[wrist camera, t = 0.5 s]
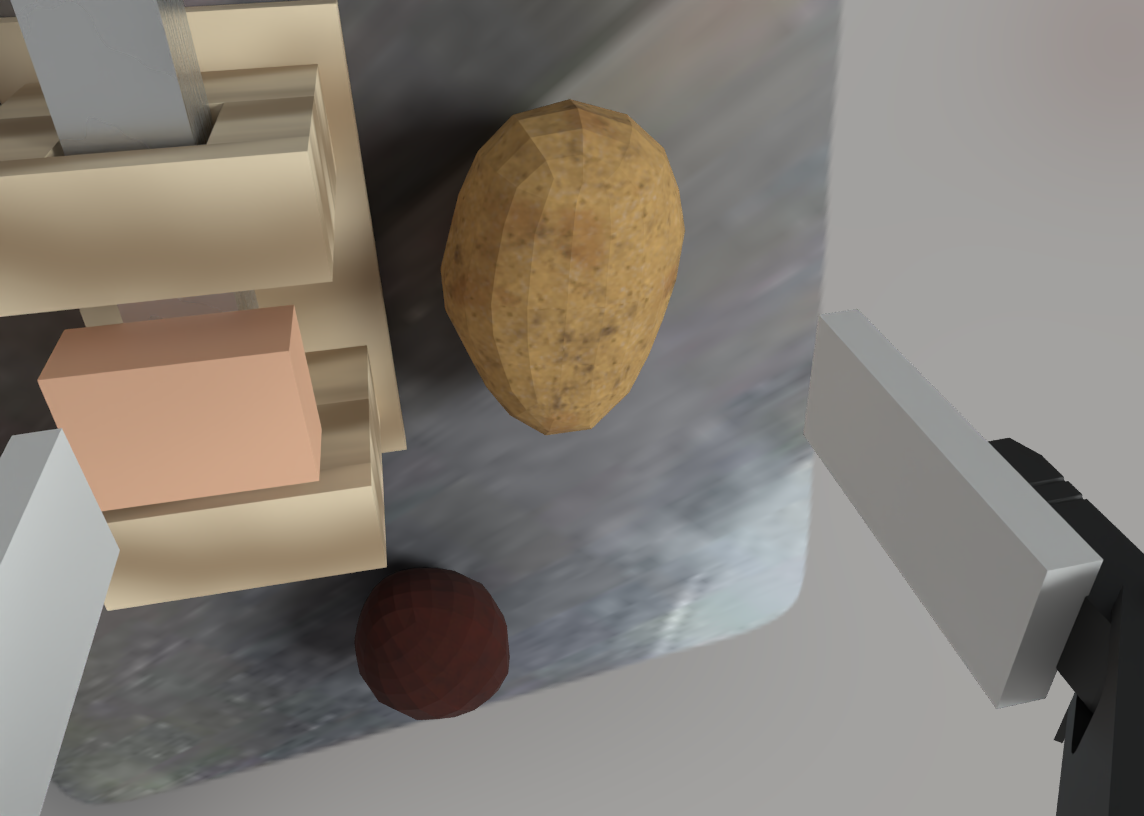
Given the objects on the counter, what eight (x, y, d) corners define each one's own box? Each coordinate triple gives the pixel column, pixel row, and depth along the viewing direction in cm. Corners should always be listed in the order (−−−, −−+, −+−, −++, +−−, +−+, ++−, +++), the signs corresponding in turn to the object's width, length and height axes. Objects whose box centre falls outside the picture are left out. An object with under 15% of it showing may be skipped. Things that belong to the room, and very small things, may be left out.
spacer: (64, 329, 28) (36, 380, 25) (294, 304, 29) (288, 350, 26) (114, 455, 31) (93, 512, 28) (321, 428, 32) (319, 480, 29)
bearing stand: (-19, 18, 31) (-170, 108, 22) (336, -2, 32) (331, 73, 24) (149, 471, 42) (95, 652, 33) (405, 437, 44) (419, 599, 35)
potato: (436, 374, 42) (452, 478, 36) (429, 66, 34) (447, 128, 28) (633, 364, 44) (682, 460, 38) (669, 70, 36) (737, 129, 30)
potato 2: (437, 507, 47) (450, 616, 41) (531, 599, 52) (555, 708, 46) (315, 582, 48) (310, 699, 42) (419, 665, 53) (428, 780, 47)
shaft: (-50, -249, 23) (-139, -259, 19) (160, -252, 24) (120, -262, 20) (205, 512, 38) (187, 601, 34) (329, 494, 39) (327, 579, 35)
